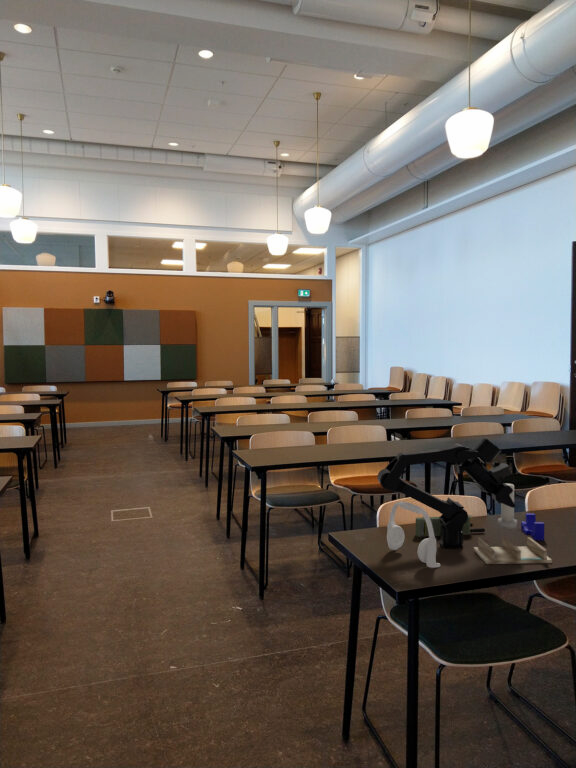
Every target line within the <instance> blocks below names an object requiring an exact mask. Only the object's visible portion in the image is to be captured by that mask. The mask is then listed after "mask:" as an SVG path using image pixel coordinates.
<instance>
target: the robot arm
mask: <svg viewBox="0 0 576 768" xmlns="http://www.w3.org/2000/svg"><path fill="white" fill-rule="evenodd" d="M500 453H502V450H501V449H500V448H499V447H498V446H497V445H496V444H494V443H492V442H491V441H490V440H489V438H486V437H483V439H482V440H481V441H480V442H479V443H478V445H476V446H475V448H472V447H465V446H463V445H462V444H460V443H456V442H455V443H452V444H449V445H445V446H443V447H440V448H437V449H429V450H421V451H412V452H411V451H410V452H399V453H398V454H397V455H396V456H395V458H393V459H392V461H390V462H389V463H388V464H387V465H386V467H384V468H383V469H380V471H379V472H378V474H377V481H378V483H379V484H380V486H381V487H382V488H383V489H384V490H387V491H389V492H390V491H391V492H393V493H398V494H403V495H405V496H407V497H409V498H411V499H413V500H415V501H417V502H419V503H421V504H423V505H425V506H427V507H429V508H431V509H433V510H435V511H437V512H439V513H440V514H441V515H440V516H438V517H439V520H440V522H441V524H442V525H443V526H441V536H440V540H438V541H439V544H440V545H441V547H442V548H443V549H463V548H464V535H463V532H462V531H461V530H462V528H463V525H464V524H465V523H466V522H467V520H468V512H467V511H466V510H465V507H464V506H463V505H462V504H461V503H460V502H459V501H454V500H453V499H451V498H450V497H447V498H446V500H444V499H440V498H438V497H436V496H434V495H433V494H431V493H428V492H427V491H425V490H423V489H421V488H419V487H416V486H414V485H412V484H410V483H409V482H408V481H405V480H404V479H403V478H402V477H401V476H402V475H403V473H404V472H405V470H406V468H407V467H408V466H414V465H422V464H430V463H431V464H433V463H440V462H443V463H450V464H457V465H456V472H457V474H459V475H462V474H463V473H466V474H467V475H468V477H470V478H471V479H472V481H474V482H475V483H476V484H477V485H476V487H477V488H478V489H479V490H480V491H481V492H483V493H484V492H485V495H487V496H489V497H491V498H492V499H493V500H494V501H496V503H498V504H500V505H501V503H502V504H505V505H507V506H510V507H512V508H514V509H515V508H516V505H515V501H514V502H513V501H512V499H511V497H510V496H509V495H510V494H511V493H512V492H513V489H512V488H511V487H510V486H508V485H507V484H508V483H507V484H505V483H501V482H502V480H501V479H504V478H506V477H509V476H512V474H513V473H512V471H511V468H510V466H509V464H507V463H504V462H500V463H499V462H498V461H495V460H494V459H495V458H497V456H499V454H500ZM478 459H479V460H478ZM481 462H482V463H483V464H482V463H481ZM491 462H492V463H491ZM490 463H491V467H490V469H489V468H487V467H486V466H484V464H490Z"/></svg>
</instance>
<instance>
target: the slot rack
mask: <svg viewBox="0 0 576 768" xmlns="http://www.w3.org/2000/svg"><path fill="white" fill-rule="evenodd" d="M477 539H478V540H477V541H478V542H477V546H473V552H475V553H476V555H477V556H478V557H479V558H480V559H482V561H483V562H484V563H485V564H486V565H500V564H502V565H503V564H504V565H505V564H509V565H511V564H552V563H553V560H552V558H550V557H549V556H548V550H547V549H546V548H545V547H544V546H542V545H541V544H539V543H538V542H537V540H535V539H534V538H533V537H531V536H530V537H528V536H527V537H526V546H525V545H524V546H523V545H522V546H517V545H515V543H514V544H513V542H512V541H510V540H509V539H508V538H507V537H502V546H490V545H489V544H488V543H487V542H486V541H485V540H484V539H483V538H481V537H478V538H477Z"/></svg>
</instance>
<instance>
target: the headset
mask: <svg viewBox="0 0 576 768" xmlns="http://www.w3.org/2000/svg"><path fill="white" fill-rule="evenodd" d="M398 507H400V508H401V509H403V510H405V511H406V510H407V511H409V512H412V513H415V514H418V515H421V516H422V517H424V518H425V521H426V524H427V528H428V533H429V536H428V538H424V539H422V540H421V541H420V543H419V545H418V547H417V556H418V560H420V561H421V562H422V563H426V567H428V568H433V569H434V568H440V567H441V563H439V562H437V560H436V558H437V557H436V554H437V550H438V549H437V548H438V547H437V538H436V536H434V531H433V527H432V523H431V520H430V517H431V516H429V514H428V512H427V511H426V510H425V509H424V508H422V507H420V506H419V505H417V504H414V503H411V502H407V501H397V502H396V503H394V504H393V506H392V508H391V511H390V514H389V519H388V522H387V525H386V526H387V527H386V529H387V533H386V542H387V544H388V548H389V549H390V550H391V551H393V550H394V551H397V549H399V548H401V547H402V546H403V544H404V542H405V531H404V529H403V528H402V527H401V526H400V525H397V523H396V522H395V515H396V512H397V510H398Z"/></svg>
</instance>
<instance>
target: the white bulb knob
mask: <svg viewBox="0 0 576 768" xmlns="http://www.w3.org/2000/svg"><path fill="white" fill-rule="evenodd" d="M504 484H507V485H508V486H510V487H511V488H512V489H513V492H512V493H511V494H510V495H509V496H510V497H511V499H512V501H513V502H514V503H515V485H514V484H513V483H507V482H506V483H504ZM500 506H501V507H500V509H501V510H500V515H501V516H500V517H499V518H497V525H498V527H500V528H501V529H508V530H509V529H511V530H514V529H517V528H518V519H515V507H514V508H512V507H510V506H507V505H505V504H502V503H500Z"/></svg>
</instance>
